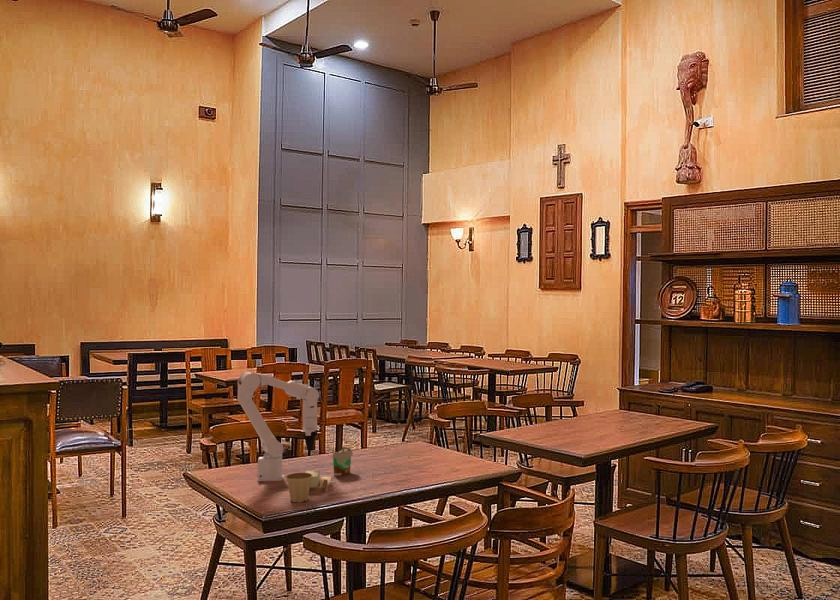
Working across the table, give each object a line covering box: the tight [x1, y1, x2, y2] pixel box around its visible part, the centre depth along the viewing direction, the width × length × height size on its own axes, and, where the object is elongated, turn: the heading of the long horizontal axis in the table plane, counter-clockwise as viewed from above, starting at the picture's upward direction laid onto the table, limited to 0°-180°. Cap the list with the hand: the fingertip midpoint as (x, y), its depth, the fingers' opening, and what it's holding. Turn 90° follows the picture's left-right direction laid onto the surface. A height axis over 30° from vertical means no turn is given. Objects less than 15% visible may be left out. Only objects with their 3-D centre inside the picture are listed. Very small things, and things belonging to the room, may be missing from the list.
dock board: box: [309, 476, 332, 494], centre depth 267 cm, size 12×23×2 cm, turn 3°
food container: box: [332, 446, 354, 477], centre depth 283 cm, size 12×6×10 cm, turn 168°
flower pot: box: [285, 472, 313, 503], centre depth 247 cm, size 9×9×9 cm
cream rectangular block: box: [305, 470, 321, 488], centre depth 262 cm, size 5×10×5 cm, turn 3°
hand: (310, 450), depth 283 cm, fingers closed
